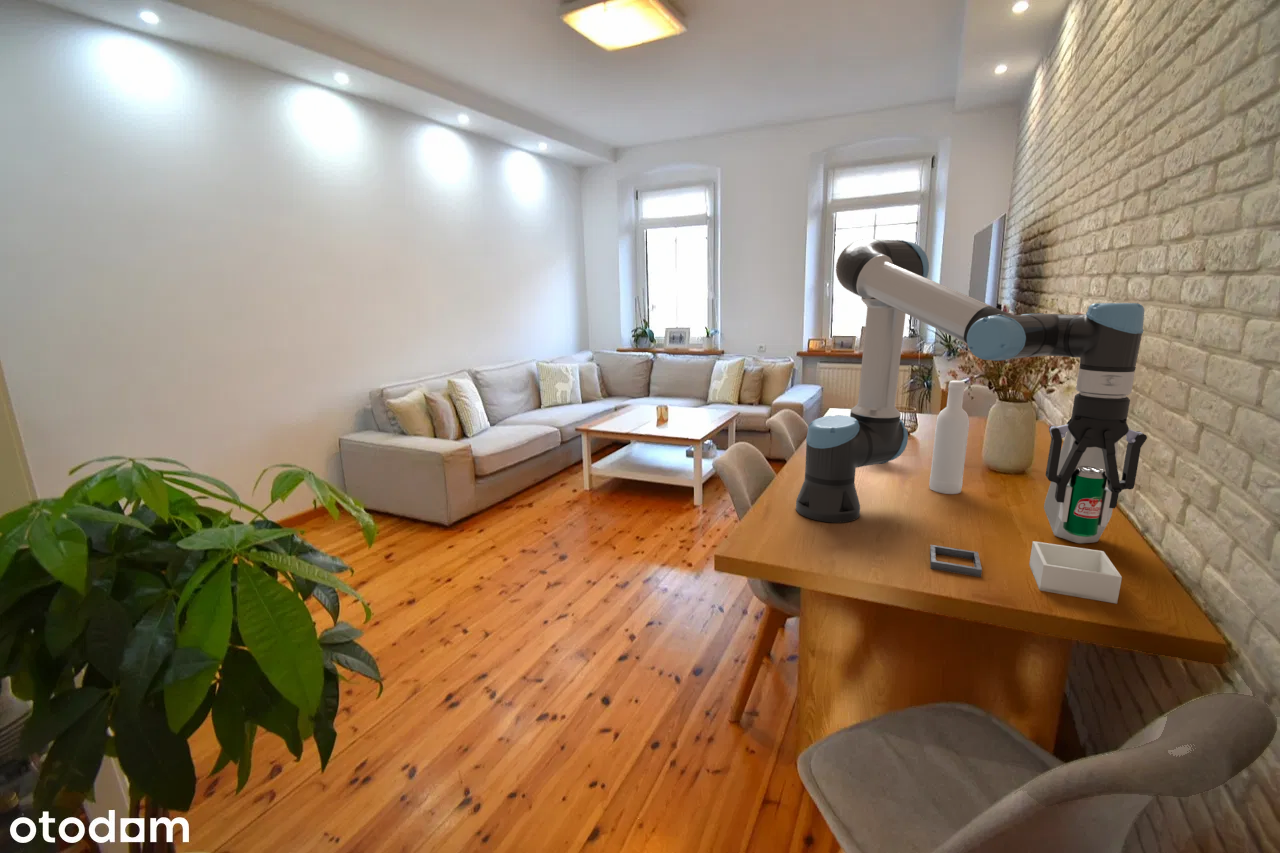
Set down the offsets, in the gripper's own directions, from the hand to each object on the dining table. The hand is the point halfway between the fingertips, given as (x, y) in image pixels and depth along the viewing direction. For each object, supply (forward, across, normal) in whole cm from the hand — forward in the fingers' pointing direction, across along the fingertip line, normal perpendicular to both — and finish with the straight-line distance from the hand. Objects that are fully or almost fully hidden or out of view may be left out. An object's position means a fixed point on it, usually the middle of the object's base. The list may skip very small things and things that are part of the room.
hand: (1081, 521), depth 104 cm
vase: (+12, +5, +26) cm, 29 cm away
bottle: (+12, -19, +49) cm, 54 cm away
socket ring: (+12, -19, 0) cm, 23 cm away
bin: (+12, 0, 0) cm, 12 cm away
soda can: (+2, 0, 0) cm, 2 cm away
